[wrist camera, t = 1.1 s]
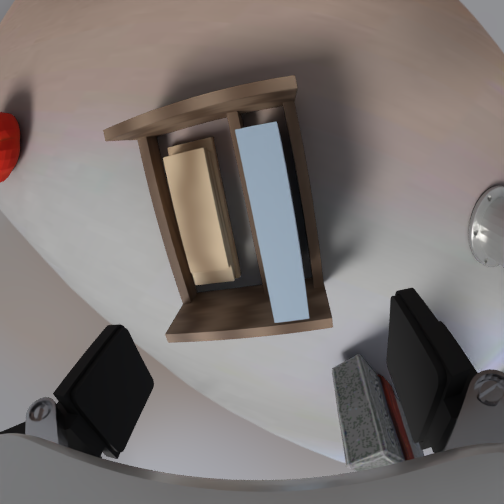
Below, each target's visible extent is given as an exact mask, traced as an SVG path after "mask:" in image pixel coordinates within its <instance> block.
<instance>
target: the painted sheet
mask: <svg viewBox="0 0 504 504" xmlns="http://www.w3.org/2000/svg"><path fill="white" fill-rule="evenodd" d="M235 133H236V137H237V142H238V147H239V152H240V156H241V161H242V166H243V171H244V175H245V180H246V185H247V190H248V194H249V199H250V204H251V209H252V214H253V218H254V223H255V228H256V233H257V238H258V243H259V248H260V253H261V257H262V262H263V267H264V272H265V277H266V282H267V287H268V292H269V297H270V302H271V307H272V312H273V317H274V322H275V323H279V322H287V321H295V320H303V319H309V312H308V303H307V294H306V286H305V278H304V270H303V262H302V255H301V249H300V242H299V236H298V229H297V223H296V217H295V211H294V205H293V199H292V194H291V188H290V183H289V177H288V172H287V166H286V161H285V156H284V151H283V146H282V141H281V136H280V131H279V128H278V125H277V122H271V123H265V124H260V125H255V126H250V127H245V128H241V129H236V130H235Z"/></svg>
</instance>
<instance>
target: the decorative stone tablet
mask: <svg viewBox="0 0 504 504" xmlns="http://www.w3.org/2000/svg"><path fill="white" fill-rule="evenodd" d="M332 375H333V382H334V388H335V395H336V403H337V410H338V417H339V423H340V428H341V434H342V441H343V447H344V454H345V460H346V467H348V468H350V469H352V470H355V471H362V470H368V469H373V468H378V467H382V466H387V465H391V464H395V463H399V462H403V461H407V460H411V459H415V458H419V457H423V456H424V453H423V450H421V448H420V445H419V442H418V443H414V442H413V439H412V436H411V433H410V430H409V427H408V424H407V420H406V417H405V414H404V411H403V408H402V406H401V403H400V402H399V400H398V399H397V398H396V397H395V395H394V392H393V389H392V386H391V385H390V384H389V383H388V382H387V381H386V380H385V378H384V377H383V376H381V375H376V373H375V372H374V371H373V370H372V368H371V367H370V366H369V365H368V364H367V362H366V361H365V360H364V359H363V357H362V356H361V355H359V354H357V355H356V356H354V357H352V358H350V359H349V360H347V361H345V362H343V363H341V364H339V365H338V366H336V367H334V368H332Z"/></svg>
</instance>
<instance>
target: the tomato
mask: <svg viewBox="0 0 504 504" xmlns="http://www.w3.org/2000/svg"><path fill="white" fill-rule="evenodd" d="M19 152H20V129H19V124H18V122H17V120H16V118H15V116H13V115H12V114H9V113H2V112H0V182H2V181H4V180H5V179H6V178H8V176H9V175H10V173H11V171H12V170H13V168H14V167H15V165H16V163H17V161H18V157H19Z"/></svg>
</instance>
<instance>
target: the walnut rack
mask: <svg viewBox="0 0 504 504" xmlns="http://www.w3.org/2000/svg"><path fill="white" fill-rule="evenodd" d="M297 89H298V87H297V83H296V79H295V75H292V76H286V77H279V78H273V79H268V80H262V81H257V82H252V83H247V84H243V85H238V86H234V87H230V88H225V89H221V90H217V91H214V92H210V93H206V94H202V95H199V96H195V97H192V98H189V99H185V100H182V101H179V102H176V103H173V104H170V105H167V106H164V107H161V108H158V109H155V110H152V111H149V112H147V113H144V114H141V115H139V116H136V117H134V118H131V119H128V120H126V121H124V122H121V123H119V124H116V125H114V126H112V127H109V128H107V129H105V130H103V131H104V136H105V141H119V140H138V144H139V149H140V153H141V158H142V162H143V166H144V171H145V175H146V179H147V183H148V187H149V191H150V195H151V199H152V203H153V207H154V210H155V214H156V218H157V221H158V225H159V228H160V232H161V235H162V239H163V242H164V246H165V249H166V252H167V256H168V259H169V262H170V265H171V269H172V272H173V275H174V278H175V281H176V284H177V287H178V290H179V293H180V296H181V299H182V302H183V305H182V307H181V309H180V310H179V312H178V314H177V315H176V317H175V319H174V320H173V322H172V324H171V325H170V327H169V329H168V330H167V332H166V334H165V335H166V338H167V340H168V342H169V343H170V342H195V341H212V340H227V339H239V338H250V337H261V336H270V335H280V334H288V333H296V332H304V331H311V330H318V329H325V328H332V327H333V323H332V315H331V311H330V307H329V303H328V298H327V294H326V290H325V286H324V282H323V275H322V266H321V257H320V249H319V241H318V234H317V227H316V220H315V213H314V206H313V200H312V193H311V187H310V181H309V175H308V169H307V164H306V158H305V153H304V148H303V142H302V137H301V132H300V127H299V122H298V117H297V113H296V108H295V103H294V102H295V97H296V93H297ZM280 106H283V109H284V113H285V118H286V123H287V128H288V132H289V137H290V142H291V148H292V153H293V158H294V163H295V169H296V174H297V180H298V186H299V191H300V197H301V203H302V209H303V216H304V222H305V229H306V235H307V242H308V249H309V256H310V264H311V271H312V278H305V286H306V294H307V303H308V312H309V319H303V320H295V321H287V322H279V323H275V322H274V317H273V312H272V307H271V302H270V297H269V292H268V287H267V282H266V277H265V272H264V267H263V262H262V257H261V253H260V248H259V243H258V238H257V233H256V228H255V223H254V218H253V214H252V209H251V204H250V199H249V194H248V190H247V185H246V180H245V175H244V171H243V166H242V161H241V156H240V152H239V147H238V142H237V137H236V133H235V130H236V129H241V128H244V125H243V120H242V116H241V114H244V113H248V112H253V111H258V110H263V109H269V108H274V107H280ZM226 117H227V119H228V123H229V128H230V133H231V137H232V142H233V147H234V151H235V156H236V161H237V166H238V170H239V175H240V180H241V184H242V189H243V194H244V198H245V203H246V208H247V213H248V217H249V222H250V227H251V232H252V236H253V241H254V246H255V251H256V255H257V260H258V265H259V270H260V275H261V279H262V284H263V285H255V286H247V287H240V288H232V289H223V290H215V291H207V292H198V293H197V290H196V287H195V283H194V280H193V277H192V274H191V272H190V268H189V265H188V261H187V257H186V253H185V250H184V246H183V243H182V239H181V235H180V232H179V228H178V224H177V221H176V217H175V213H174V209H173V205H172V201H171V197H170V193H169V189H168V185H167V181H166V177H165V173H164V169H163V164H162V160H161V155H160V151H159V146H158V142H157V137H158V136H161V135H164V134H167V133H171V132H174V131H177V130H180V129H184V128H187V127H191V126H195V125H198V124H202V123H206V122H210V121H213V120H217V119H222V118H226Z"/></svg>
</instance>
